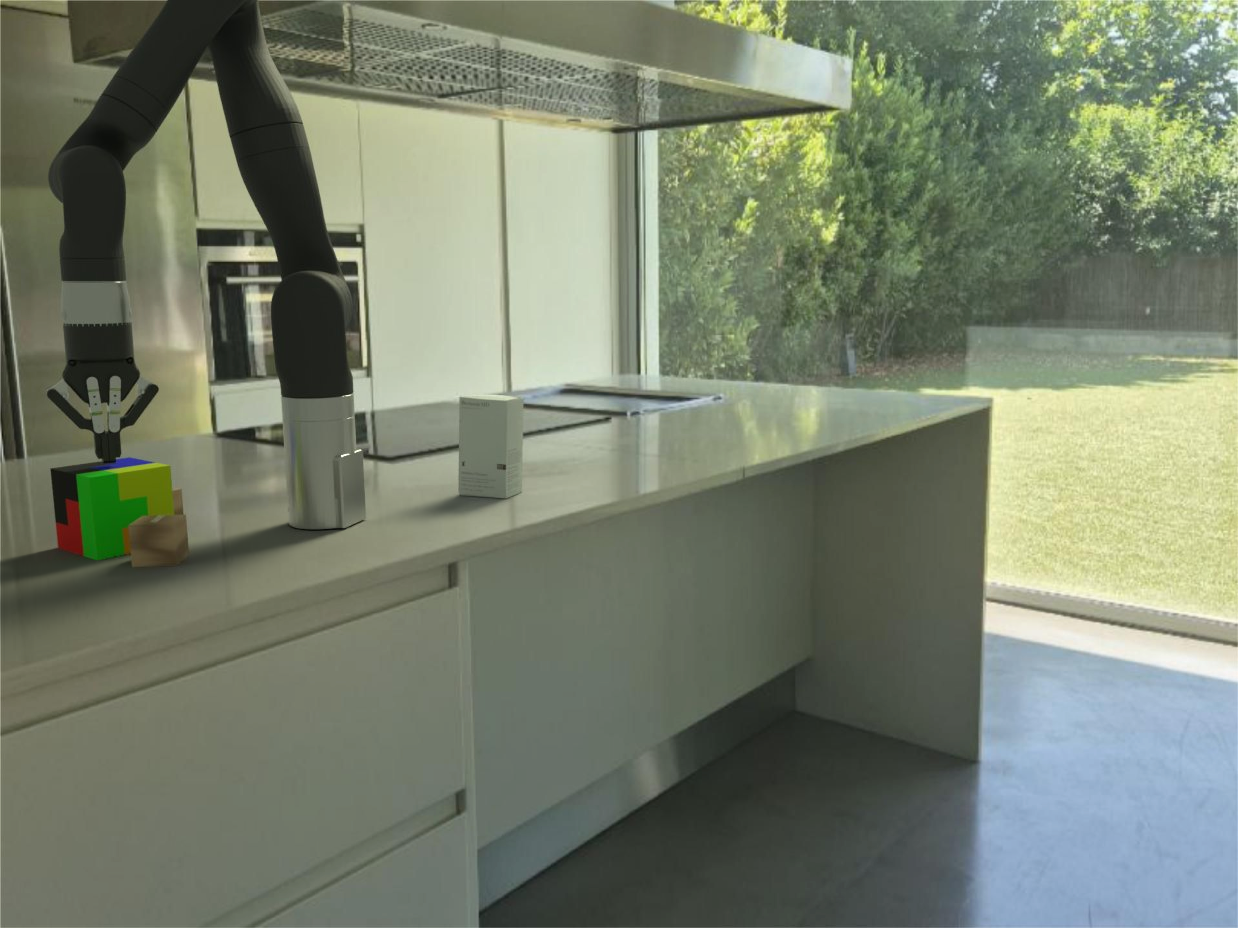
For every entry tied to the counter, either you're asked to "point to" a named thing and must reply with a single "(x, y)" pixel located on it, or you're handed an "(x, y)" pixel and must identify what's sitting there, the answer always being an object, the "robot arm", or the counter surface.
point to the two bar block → (177, 501)
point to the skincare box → (490, 445)
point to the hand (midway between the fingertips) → (108, 462)
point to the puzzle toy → (107, 503)
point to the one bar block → (158, 540)
